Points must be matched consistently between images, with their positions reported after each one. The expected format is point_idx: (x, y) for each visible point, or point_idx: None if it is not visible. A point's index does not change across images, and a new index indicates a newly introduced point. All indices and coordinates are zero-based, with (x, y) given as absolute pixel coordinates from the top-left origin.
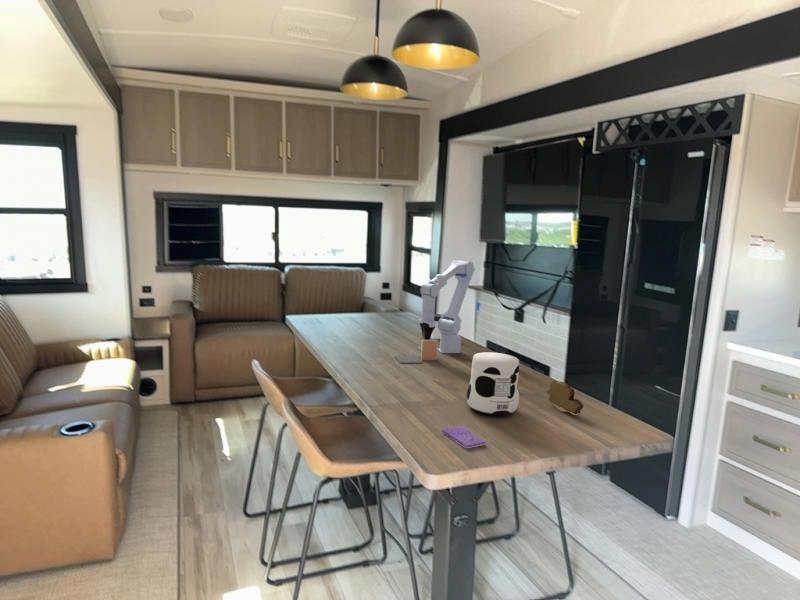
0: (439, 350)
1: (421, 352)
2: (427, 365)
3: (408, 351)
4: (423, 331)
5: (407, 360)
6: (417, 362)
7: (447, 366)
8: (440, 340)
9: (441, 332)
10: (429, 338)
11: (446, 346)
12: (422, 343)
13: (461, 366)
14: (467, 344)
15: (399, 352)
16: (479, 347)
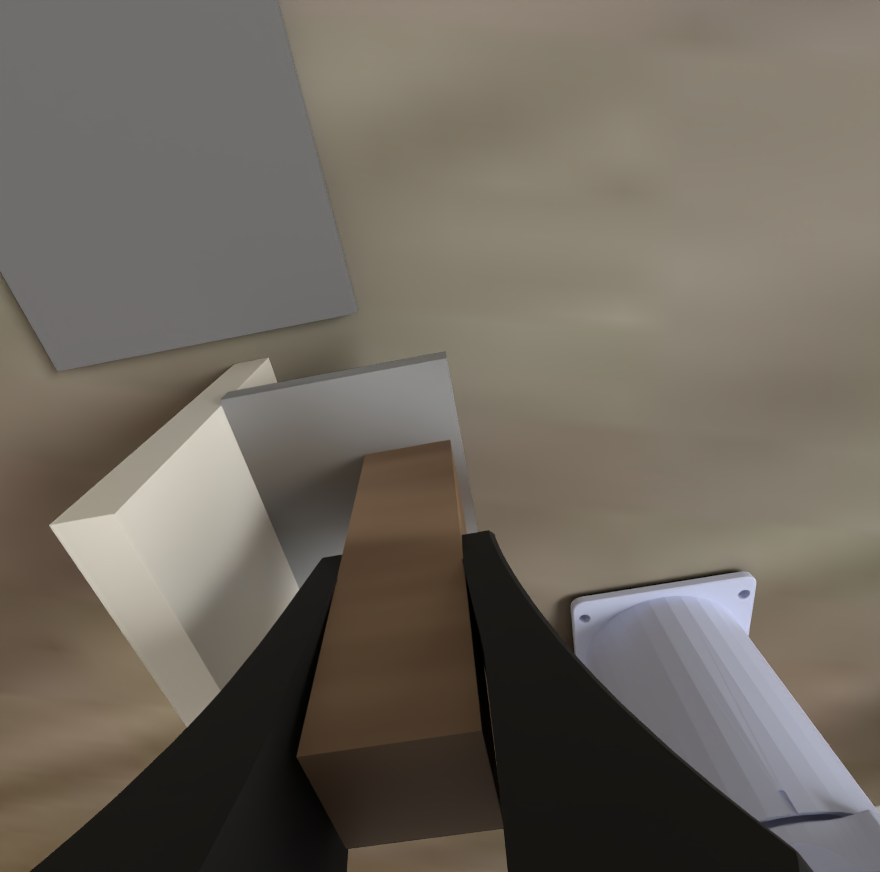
0: (653, 591)
1: (203, 399)
2: (14, 417)
3: (678, 214)
4: (459, 682)
5: (35, 141)
6: (19, 301)
7: (86, 598)
8: (732, 695)
9: (795, 835)
10: None
11: (612, 692)
12: (99, 484)
13: (145, 691)
14: (873, 782)
15: (621, 31)
16: None
